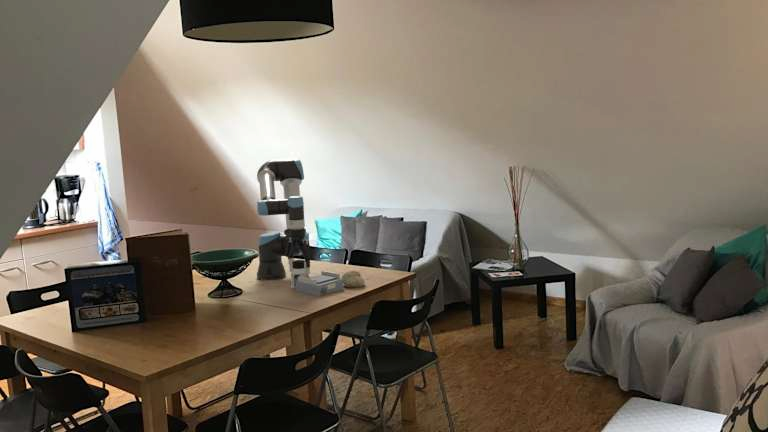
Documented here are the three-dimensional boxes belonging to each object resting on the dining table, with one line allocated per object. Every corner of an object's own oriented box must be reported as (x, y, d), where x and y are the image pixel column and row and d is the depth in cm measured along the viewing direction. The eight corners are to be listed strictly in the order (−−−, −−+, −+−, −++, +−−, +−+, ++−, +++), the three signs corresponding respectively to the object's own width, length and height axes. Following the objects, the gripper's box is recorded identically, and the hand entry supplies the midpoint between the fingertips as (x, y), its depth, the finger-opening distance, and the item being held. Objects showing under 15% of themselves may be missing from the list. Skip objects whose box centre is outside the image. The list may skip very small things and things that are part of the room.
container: (307, 288, 327) (305, 261, 325) (291, 288, 327) (289, 262, 325) (309, 284, 335) (307, 258, 333) (293, 284, 335) (292, 259, 333)
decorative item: (334, 279, 324) (343, 267, 332) (341, 294, 328) (349, 281, 336) (355, 278, 318) (363, 266, 326) (362, 293, 322) (370, 280, 330)
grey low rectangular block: (295, 291, 321) (295, 276, 320) (320, 284, 333) (319, 270, 332) (320, 296, 310) (319, 280, 309) (344, 289, 321) (344, 274, 320)
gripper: (275, 227, 332) (278, 271, 335) (307, 230, 317) (309, 276, 320) (287, 225, 338) (290, 268, 340) (318, 228, 322) (321, 273, 325)
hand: (299, 272), depth 330 cm, fingers closed on container, 10 cm apart
